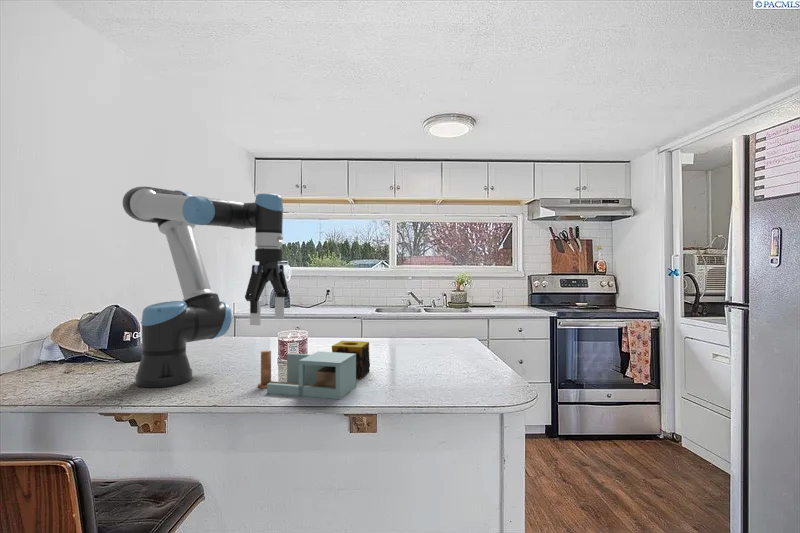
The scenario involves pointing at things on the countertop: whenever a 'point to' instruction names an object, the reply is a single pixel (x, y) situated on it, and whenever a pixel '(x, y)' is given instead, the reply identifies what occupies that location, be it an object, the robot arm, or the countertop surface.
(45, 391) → the countertop surface
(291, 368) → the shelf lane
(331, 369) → the tethered block
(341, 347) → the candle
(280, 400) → the countertop surface
